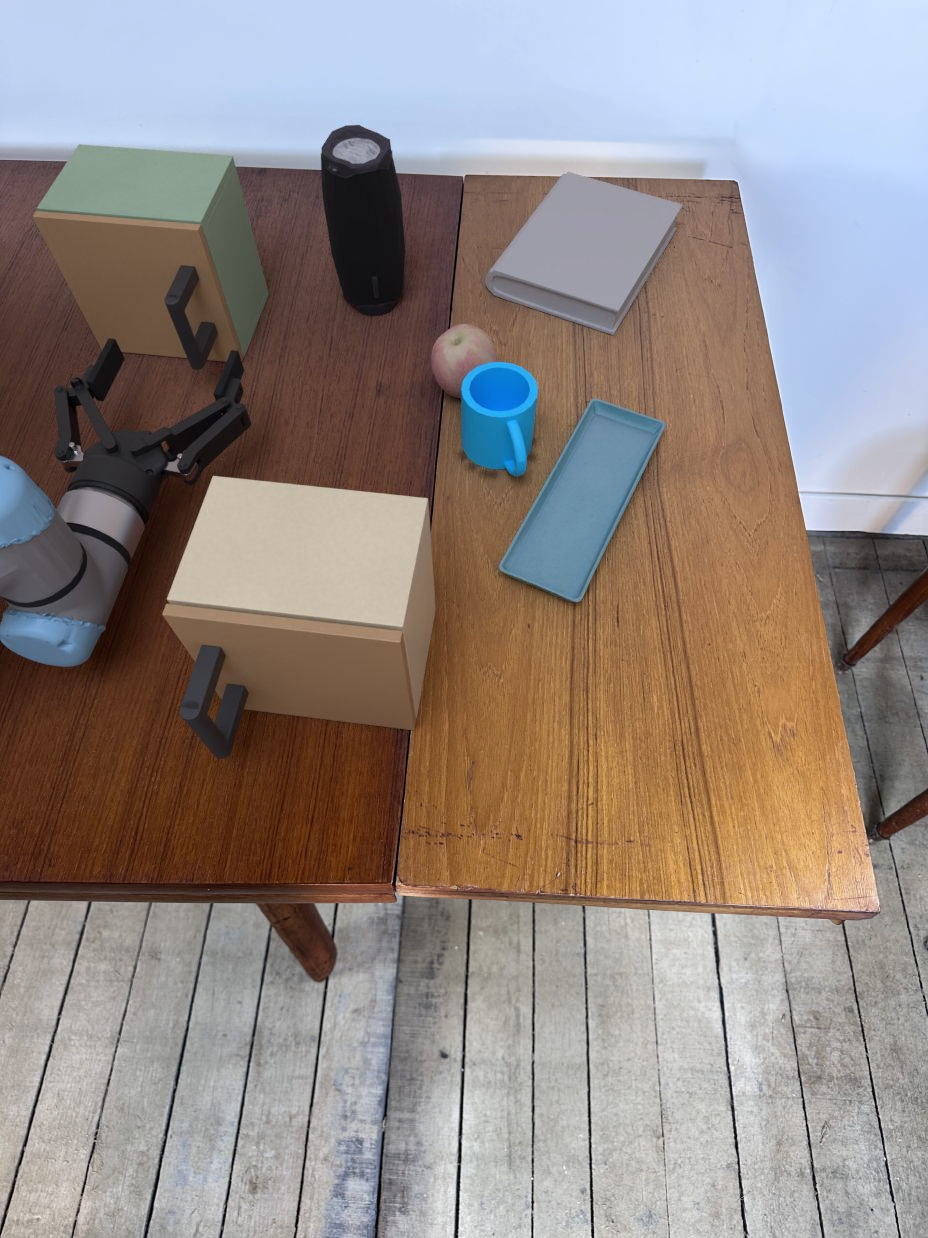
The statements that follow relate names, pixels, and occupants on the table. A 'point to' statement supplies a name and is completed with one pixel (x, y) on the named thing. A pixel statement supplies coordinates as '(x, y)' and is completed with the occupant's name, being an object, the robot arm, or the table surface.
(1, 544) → the robot arm
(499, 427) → the mug
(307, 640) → the beige drawer front
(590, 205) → the book
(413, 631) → the cream cupboard
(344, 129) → the portable speaker
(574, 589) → the rectangular tray
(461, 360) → the apple
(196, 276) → the tan wooden panel
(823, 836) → the table surface
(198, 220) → the green cupboard
